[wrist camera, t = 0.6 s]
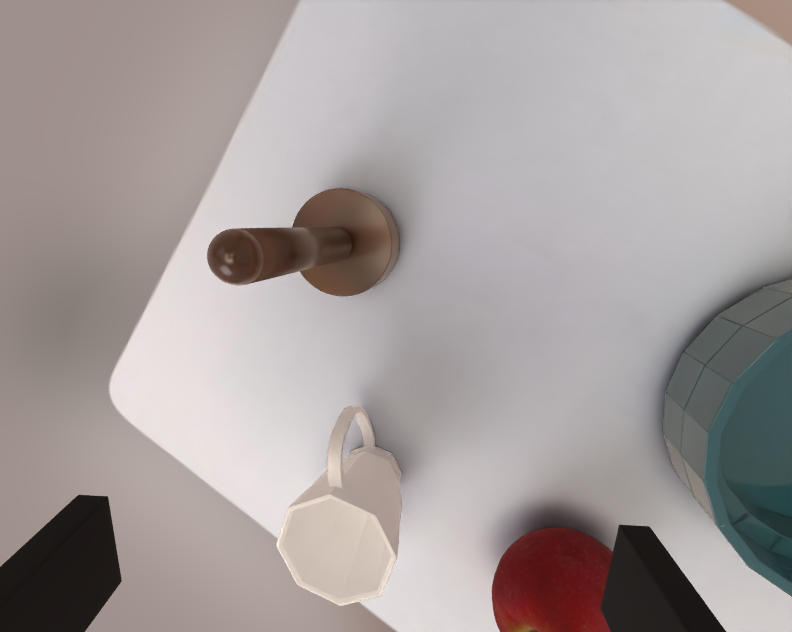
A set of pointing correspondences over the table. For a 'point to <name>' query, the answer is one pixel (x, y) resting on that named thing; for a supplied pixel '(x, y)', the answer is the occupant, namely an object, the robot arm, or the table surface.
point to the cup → (346, 520)
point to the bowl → (740, 427)
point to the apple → (552, 583)
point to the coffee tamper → (315, 246)
